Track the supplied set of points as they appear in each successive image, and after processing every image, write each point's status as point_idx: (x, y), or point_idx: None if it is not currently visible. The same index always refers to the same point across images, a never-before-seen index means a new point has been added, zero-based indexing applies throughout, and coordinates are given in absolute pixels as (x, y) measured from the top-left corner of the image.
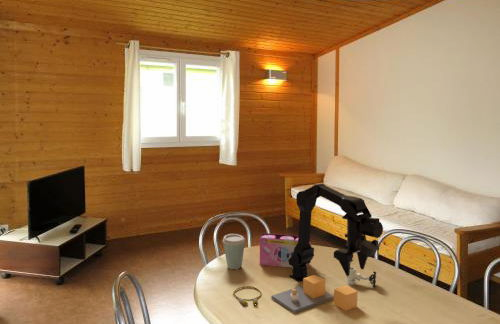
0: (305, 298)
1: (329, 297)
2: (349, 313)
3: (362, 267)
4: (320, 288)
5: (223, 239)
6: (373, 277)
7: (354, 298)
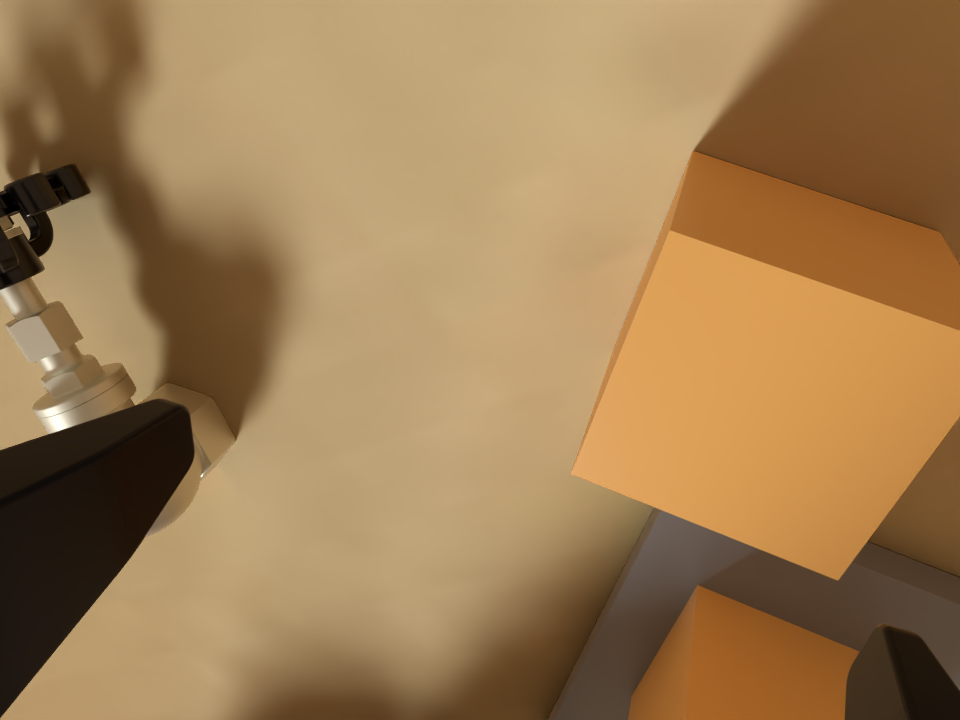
0: None
1: None
2: None
3: (150, 450)
4: (775, 702)
5: None
6: None
7: (754, 214)
